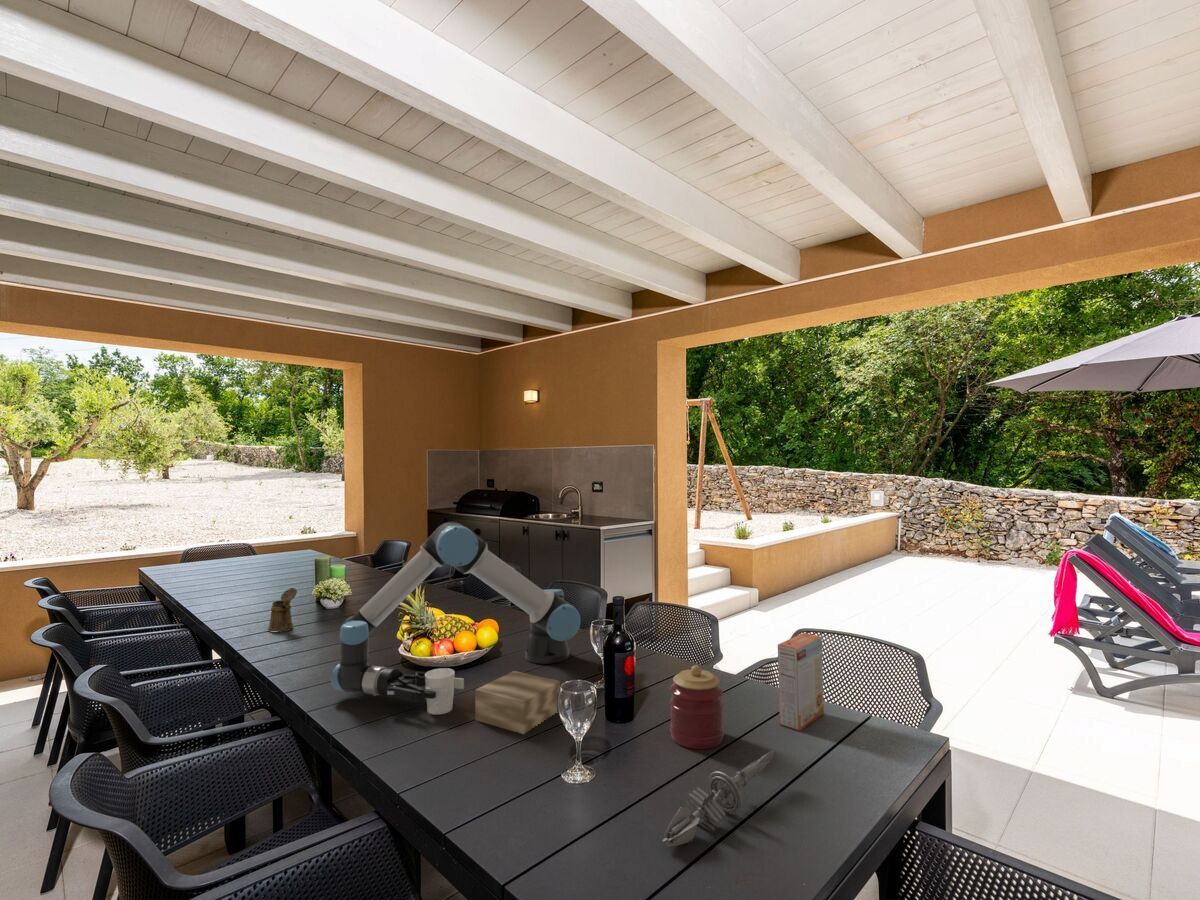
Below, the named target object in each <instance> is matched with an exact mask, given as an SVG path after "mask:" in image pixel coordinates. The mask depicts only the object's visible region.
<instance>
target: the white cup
mask: <svg viewBox="0 0 1200 900" xmlns="http://www.w3.org/2000/svg"><path fill="white" fill-rule="evenodd" d="M426 672H427V673H426V674H425V686H424V687H425V688H427V687H429V688H438V689H447V690H448V693H449V700H448V701H443V700H434V699H426V698H425V700H426V710H427V711H426V712H427V713H428V714H429V715H433V716H435V715H445V714H447V713H450V712H451V711H452V710H453V706H454V705H453V702H454V701H453V700H454V695H455V693H454V692H455V688H454V678H455V675H456V674H455V670H454V669H452V668H448V667H447V668H446V667H444V668H443V667H442V668H441V667H439V668H434V669H431V670H428V671H426Z"/></svg>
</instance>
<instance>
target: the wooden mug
mask: <svg viewBox="0 0 1200 900" xmlns="http://www.w3.org/2000/svg"><path fill="white" fill-rule="evenodd" d="M297 591H298V589H296V588H293V587H290V588H289V589H286V590H285V591H284V592H283V593H282V594H281V595H280V600H275V601H273V602H272V605H271V607H270V610H271V612H270V617H269V618H270V619H269V626H268V628H267V631H268V630H269V631H284V630H288V629H291V628H292V629H293V628H294V623H293V622H292V621H293V620H292V614H291V613H292V611H291V609H292V607H291V601H292V600H293V599H294V598H295V597H296V595H297V593H298V592H297ZM292 629H291V630H292ZM288 631H289V630H288ZM284 632H285V631H284Z"/></svg>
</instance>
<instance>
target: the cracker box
mask: <svg viewBox="0 0 1200 900" xmlns="http://www.w3.org/2000/svg"><path fill="white" fill-rule="evenodd" d="M822 637H823V636H820V635H816V634H811V633H806V632H802V633H800V634H798V635H796V636H792V638H789V639H787V640H785V641H783V642H780V643H778V644H777V664H778V665H777V667H778V700H779V701H778V704H779V707H778V708H779V709H778V710H779V725H781V726H783V727H786V728H789V729H793V730H795V731H798V732H801V731H802V730H803V729H804V728H806V727H807V726H809V725H811V724H812V723H813V722H814V721H816V720H817V719H819V718H820V717H821V716H823V715H824V714H825V712H824V711H825V710H824V704H825V703H824V677H823V676H824V673H823V670H824V669H823V667H824V666H823V638H822Z"/></svg>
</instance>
